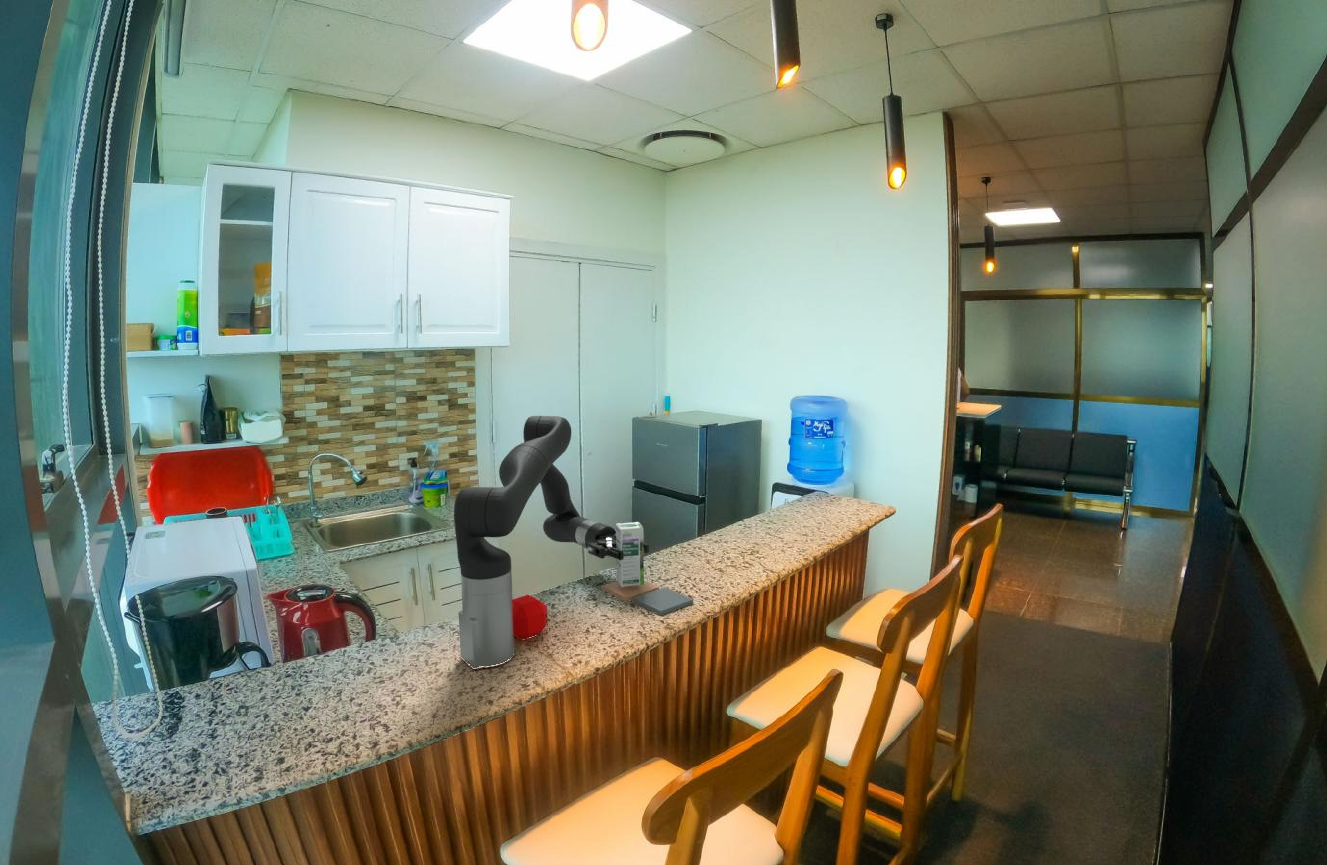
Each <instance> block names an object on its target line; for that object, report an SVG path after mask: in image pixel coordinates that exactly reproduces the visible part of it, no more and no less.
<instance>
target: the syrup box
mask: <svg viewBox="0 0 1327 865" xmlns="http://www.w3.org/2000/svg"><path fill="white" fill-rule="evenodd" d="M615 531H616V548H617V549H619V550H622V551H623V557H624V558H623V560H618V559H616V558H615V560H616V581H618V582H619V584H620V586H621V587H625V586H635V585H643V584H644V581H645V570H644V569H645V565H644V564H645V563H644V562H645V561H644V560H645V559H644V558H645V556H644V554H645V553H644V543H645V535H644V526H643V525H642V524H641V523H640V522H639V521H635V522H624V523H623V522H619V523H616V524H615Z"/></svg>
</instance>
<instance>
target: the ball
mask: <svg viewBox="0 0 1327 865" xmlns="http://www.w3.org/2000/svg"><path fill="white" fill-rule="evenodd" d="M512 600H513V627H514V637H516V636H517V637H516V638H518V639H520V640H521V639H527V638H529V637H532V636H535V635H537V636H539V635H538V634H540V635H541V634H542V632H543V631H544V630H545V629H546V627H547V624H548V621H549V620H548V619H547V618H548V606H547V605H546V604H544V602H542V601H540V600H539V599H538V598H536V597H534V596H532V595H530V594H525V595H522V596H518V597H515V598H512ZM535 637H536V636H535ZM532 638H533V637H532ZM529 639H530V638H529ZM527 640H528V639H527Z"/></svg>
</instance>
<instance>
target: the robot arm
mask: <svg viewBox="0 0 1327 865" xmlns="http://www.w3.org/2000/svg"><path fill="white" fill-rule="evenodd" d="M522 433H523V442H522V443H520V444H518V445H516V446H514V447H513V448H512V449H511V450H509V452H508V453H507V454H506V456H505V457H504V458H503V459H502V460H501V462H500V465H499V470H498V475H499V480H500V482H501V485H502V487H501V486H500V487H499V486H498V487H486V486H485V487H483V486H479V487H478V486H467V487H464V488H463V487H462V489H460V490H459V492H458V493H457V494H456V497H455V501H454V507H453V521H454V531H455V533H454V534H455V540H456V541H455V542H456V550H457V552H456V553H457V554H456V555H457V561H458V564H459V568H460V569H459V570H460V584H461V604H462V605H461V607H462V608H461V609H462V610H459V612H458V626H459V627H458V630H459V631H458V632H459V633H458V634H459V649H460V658H461V657H462V658H463V659H464V660H465V661H466V662H467V663H468V664H470V666H472V667H473V668H477V667H479V666H491V665H496V664H500V663H503V662H505V661H507V660H508V659H510V658H511V657H512V656H513V654H514V655H515V635H514V627H513V600H512V599H513V578H512V576H513V575H512V558H511V555H510V553H509V552H507V551H505V550H504V549H501V548H499V547H497V546H495V545H493V544H491V543H490V542H489V541H488V540H487V539H486V538H502V537H506V536H508V535H509V534H511V533H512V532H513V531H514V529H515V528H516V526H517V524H518V521H520V520H519V519H520V518H521V516H522V513H523V511H524V510H525V507H526V505H527V503H528V501H529V499H530V498H531V496H532V494H533V493H534V491H535V490H536V488H537V487H538V486H539V485H540V486H541V490H542V495H543V496H542V497H543V500H544V504H545V505H544V506H545V508H546V510H547V512H548V513H550V514H551V515H550V516H548V517H547V518H546V519H545V520H544V522H543V526H542V528H543V532H544V534H545V536H546V537H548V538H549V539H550V540H552V541H553V542H557V543H574V544H578V545H580V546H581V547H582V548H584V549H586V550H587V551H588V552H587V554H589V555H592V556H595V557H597V558H599V559H605V557H607V558H612V559H615V560H616V559H618V560H623V558H624V557H623V551H622V550H619V549H617V548H616V528H613V527H612V526H610V525H607V524H605V523H602V522H599V521H597V520H590V519H588V518H586V517H582V516H581V515H580V513H579V512H578V510H577V509H576V507H575V505H574V503H573V501H572V497H571V492H570V487H569V483H568V480H567V478H566V477H565V475H564V474H563V473H562V472H561V471H560V470H559V469H558V468H557V467H556V466H555V465H554V463H555V462H556V461H557V460H558V459H559V458H560V457H561V456H562V455H563V454H564V453H565V452H566V450H567V449H568V447H569V445H570V443H571V439H572V427H571V424H570V421H568V419H567V418H565V417H562V416H558V415H557V416H555V415H532V416H529V417H528V418H526V420H525V422H524V426H523V432H522ZM649 553H650V545H649V544H648V543H646V542H644V554H649ZM470 666H469V667H470Z"/></svg>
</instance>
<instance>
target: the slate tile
mask: <svg viewBox="0 0 1327 865" xmlns="http://www.w3.org/2000/svg"><path fill="white" fill-rule="evenodd" d="M632 603H634V604H636V605H637V606H640V607H642V608H645V609H647V610H649V611H651V612H652V613H655V614H657V615H658V616H663V615H666V614H668V613H672V612H674V611H677V610H679V609H682V608H684V607H687V606H690V605H693V604H694V599H693V598H691V597H689V596H687V595H684V594H683V593H680V592H677V591H675V590H672V589H670V588H667V587H666V586H664V587H661V588H659V589H658V590H655V591H652V592H649V593H646V594H643V595H640V596H637V597H634V598H633V600H632Z"/></svg>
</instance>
